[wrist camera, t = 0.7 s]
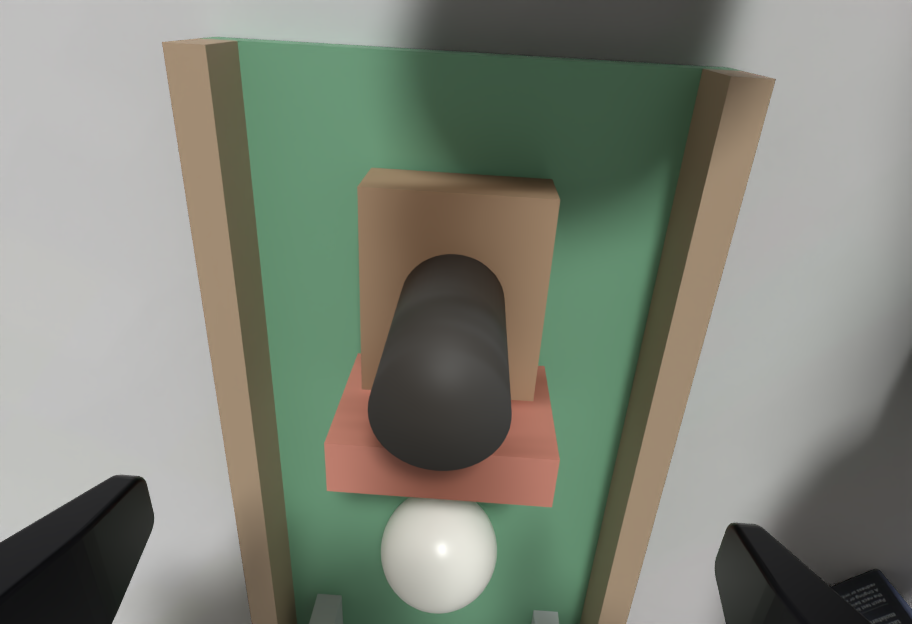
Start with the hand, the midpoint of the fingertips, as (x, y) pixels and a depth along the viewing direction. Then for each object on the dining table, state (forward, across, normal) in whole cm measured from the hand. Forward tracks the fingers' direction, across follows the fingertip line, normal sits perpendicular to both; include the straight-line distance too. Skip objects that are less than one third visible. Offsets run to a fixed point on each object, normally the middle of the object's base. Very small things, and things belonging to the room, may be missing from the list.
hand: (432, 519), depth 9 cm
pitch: (+11, 0, +8) cm, 13 cm away
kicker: (+10, 0, +1) cm, 10 cm away
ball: (+8, 0, +10) cm, 12 cm away
